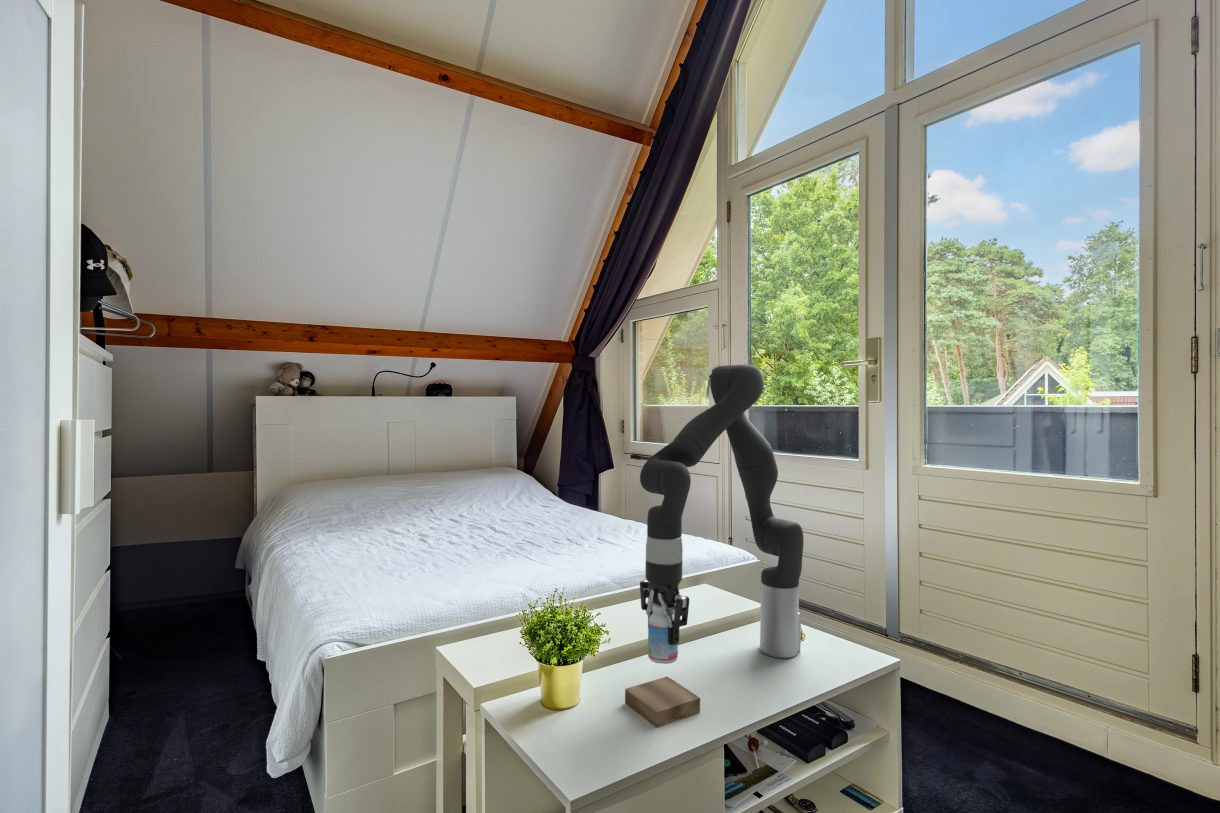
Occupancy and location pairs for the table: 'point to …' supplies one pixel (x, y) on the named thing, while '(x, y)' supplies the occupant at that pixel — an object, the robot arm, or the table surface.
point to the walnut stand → (662, 701)
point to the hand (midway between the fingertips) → (663, 638)
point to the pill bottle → (660, 637)
